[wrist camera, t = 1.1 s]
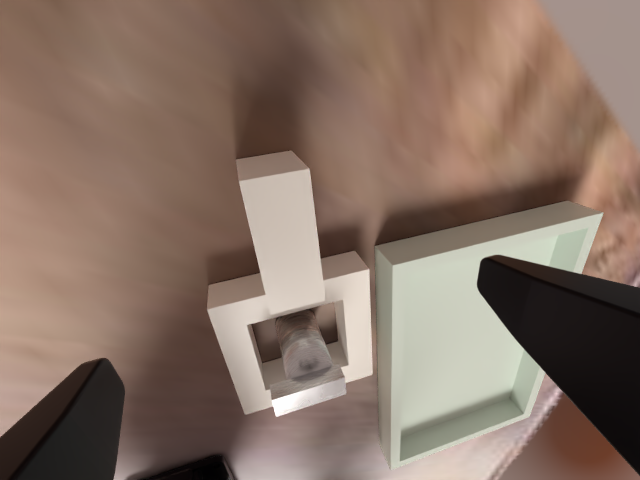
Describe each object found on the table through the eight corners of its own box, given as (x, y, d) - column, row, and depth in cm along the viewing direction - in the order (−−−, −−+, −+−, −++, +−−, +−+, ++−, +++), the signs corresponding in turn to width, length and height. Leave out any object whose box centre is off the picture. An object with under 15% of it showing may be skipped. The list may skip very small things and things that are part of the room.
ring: (360, 350, 21) (383, 395, 18) (243, 386, 20) (246, 440, 17) (348, 141, 14) (380, 156, 11) (169, 170, 13) (153, 196, 10)
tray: (509, 395, 30) (529, 416, 28) (379, 443, 27) (390, 470, 25) (567, 200, 20) (603, 212, 18) (374, 246, 18) (392, 265, 16)
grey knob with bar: (320, 331, 19) (347, 401, 15) (266, 346, 19) (278, 424, 14) (315, 301, 18) (344, 368, 14) (258, 316, 18) (269, 391, 13)
